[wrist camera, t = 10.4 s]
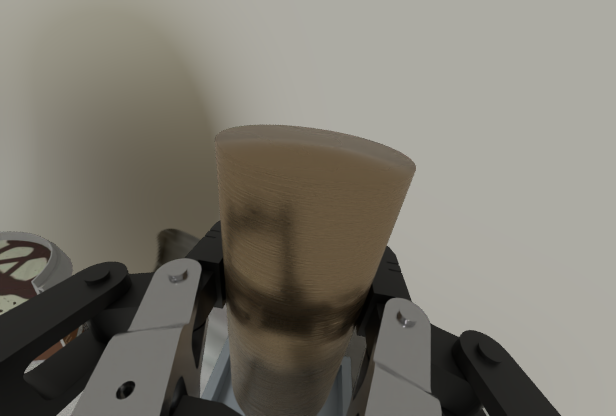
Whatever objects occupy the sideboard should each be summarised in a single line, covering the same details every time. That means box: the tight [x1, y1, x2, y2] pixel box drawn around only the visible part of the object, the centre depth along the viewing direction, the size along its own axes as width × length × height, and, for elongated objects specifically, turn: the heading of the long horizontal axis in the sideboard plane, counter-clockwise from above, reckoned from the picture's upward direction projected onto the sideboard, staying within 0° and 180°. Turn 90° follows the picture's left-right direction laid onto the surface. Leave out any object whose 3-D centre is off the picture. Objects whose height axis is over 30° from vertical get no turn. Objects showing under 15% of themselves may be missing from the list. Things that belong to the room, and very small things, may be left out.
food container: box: [0, 232, 84, 364], centre depth 19 cm, size 12×6×10 cm, turn 99°
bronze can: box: [215, 125, 416, 416], centre depth 9 cm, size 5×5×11 cm
